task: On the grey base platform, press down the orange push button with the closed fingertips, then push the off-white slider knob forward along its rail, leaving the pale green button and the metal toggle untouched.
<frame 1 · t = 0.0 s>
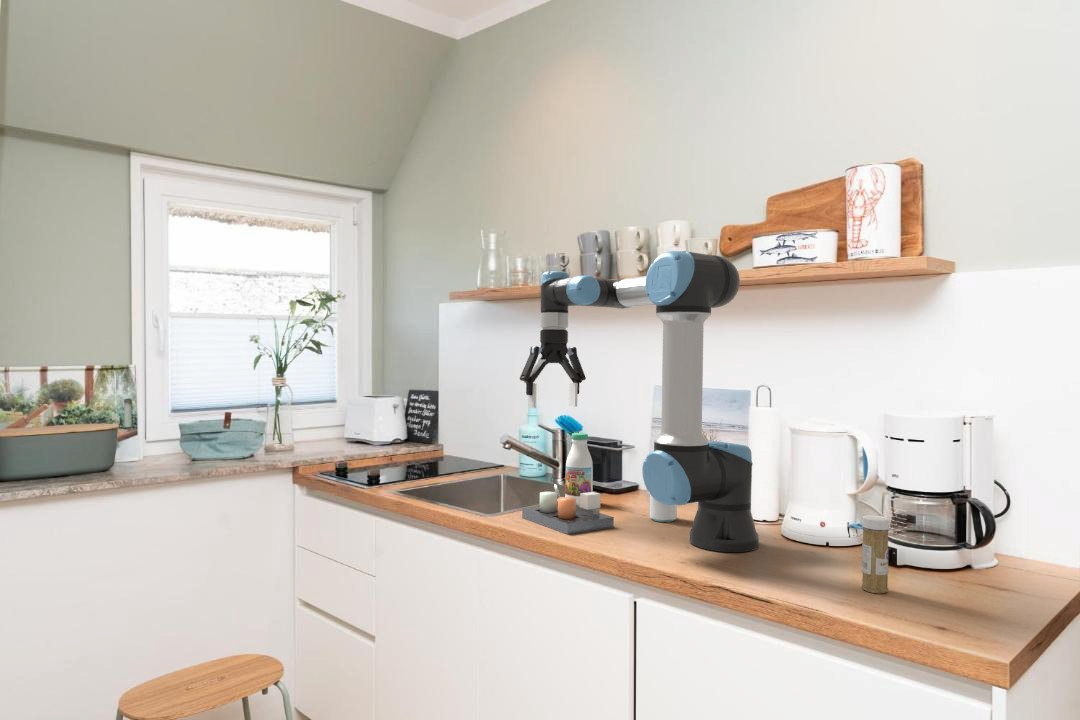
hand: (553, 407, 197), 28 cm above the worktop, tool pointing down, fingers open, 13 cm apart
button b: (548, 502, 185), point 5 cm above the worktop, slide at 0.0 cm
spice jar: (874, 591, 133), on the worktop
grey base platform: (566, 522, 183), on the worktop
can: (663, 520, 188), on the worktop
button a: (566, 507, 178), point 5 cm above the worktop, slide at 0.0 cm
milk bottle: (578, 504, 206), on the worktop
slider: (590, 500, 181), point 6 cm above the worktop, slide at 0.0 cm
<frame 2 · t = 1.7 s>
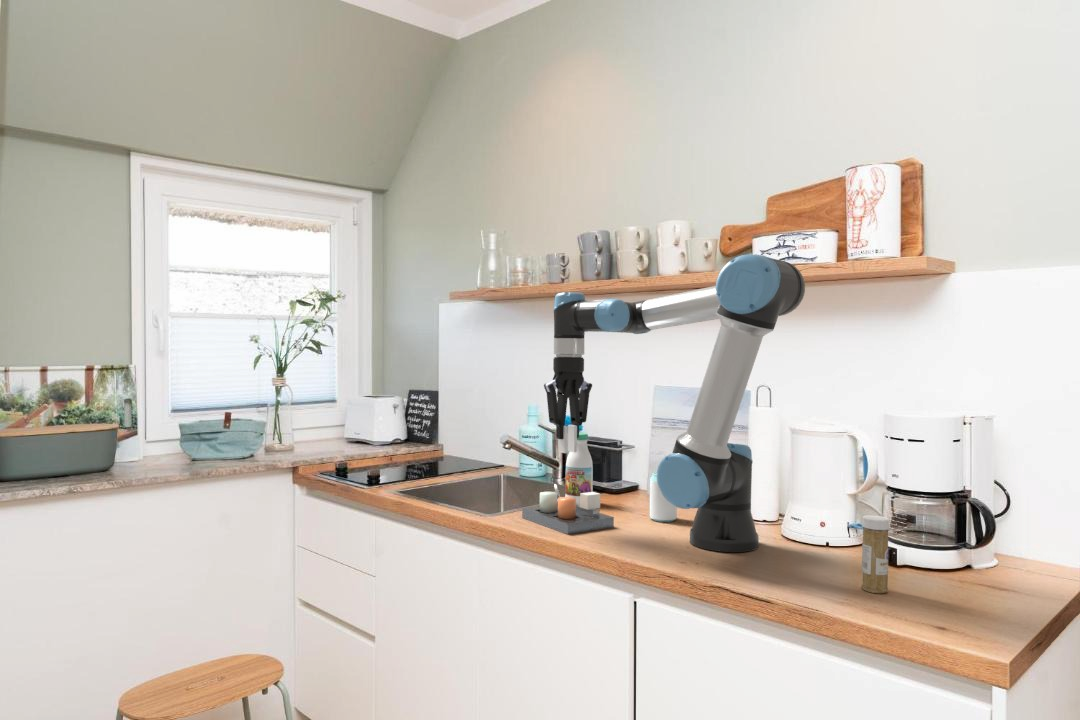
hand: (567, 451, 178), 18 cm above the worktop, tool pointing down, fingers open, 2 cm apart
nothing on the worktop moved.
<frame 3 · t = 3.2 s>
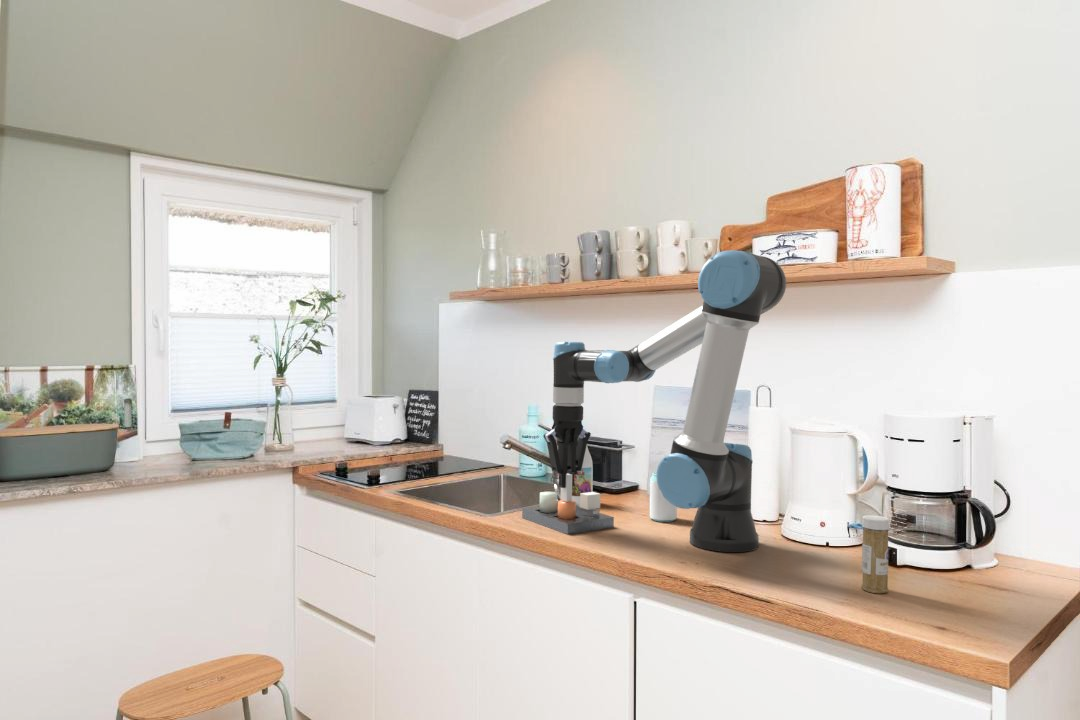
hand: (566, 500, 178), 7 cm above the worktop, tool pointing down, fingers closed
button a: (566, 510, 178), point 4 cm above the worktop, slide at -0.7 cm, touching gripper
everything else where it was.
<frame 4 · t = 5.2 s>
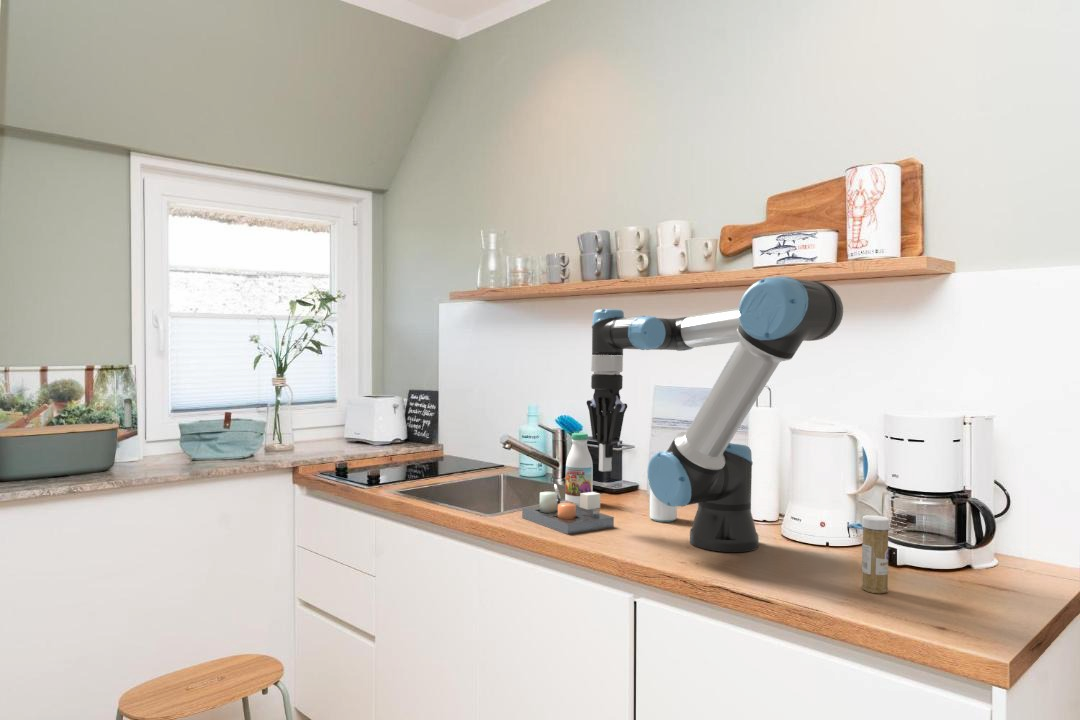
hand: (605, 470, 176), 14 cm above the worktop, tool pointing down, fingers closed
button a: (566, 513, 178), point 3 cm above the worktop, slide at -1.5 cm
everything else where it was.
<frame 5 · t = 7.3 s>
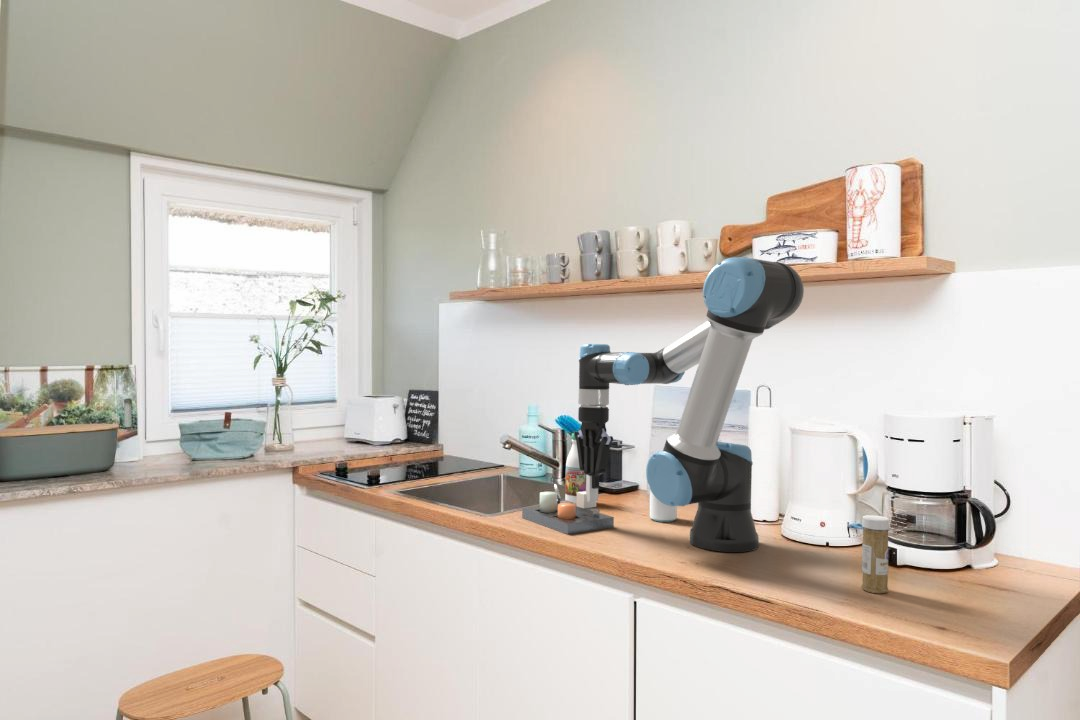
hand: (591, 500, 180), 6 cm above the worktop, tool pointing down, fingers closed
slider: (586, 499, 182), point 6 cm above the worktop, slide at 1.6 cm, touching gripper
everything else where it was.
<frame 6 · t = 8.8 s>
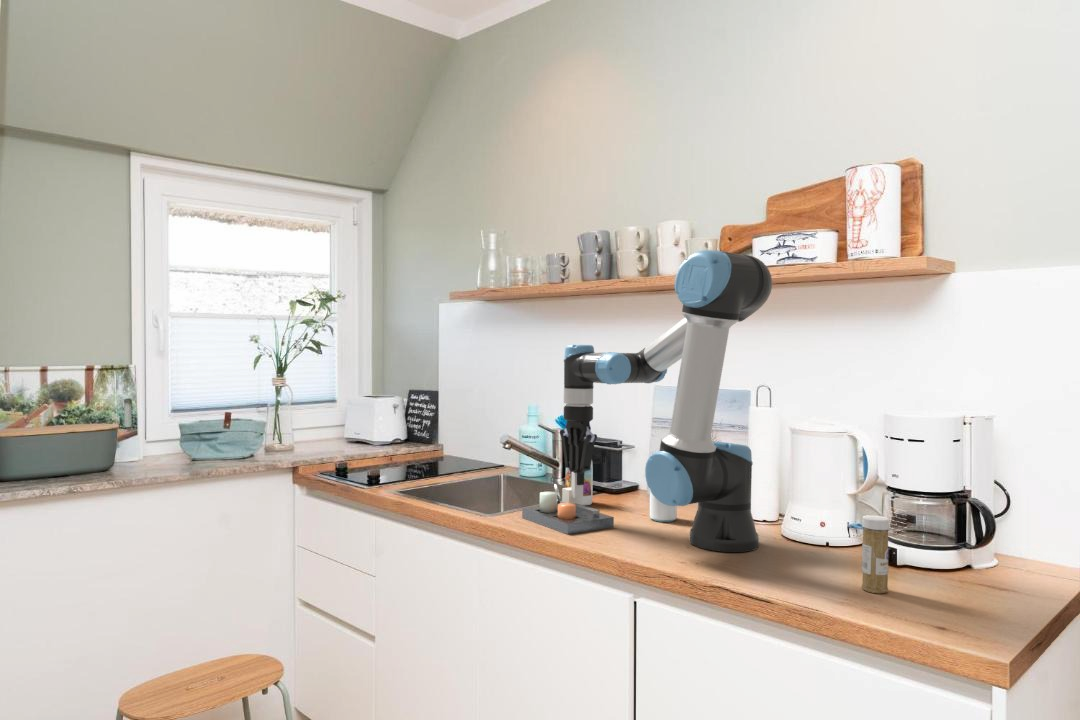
hand: (577, 497, 185), 6 cm above the worktop, tool pointing down, fingers closed
slider: (571, 495, 187), point 6 cm above the worktop, slide at 7.7 cm, touching gripper
everything else where it was.
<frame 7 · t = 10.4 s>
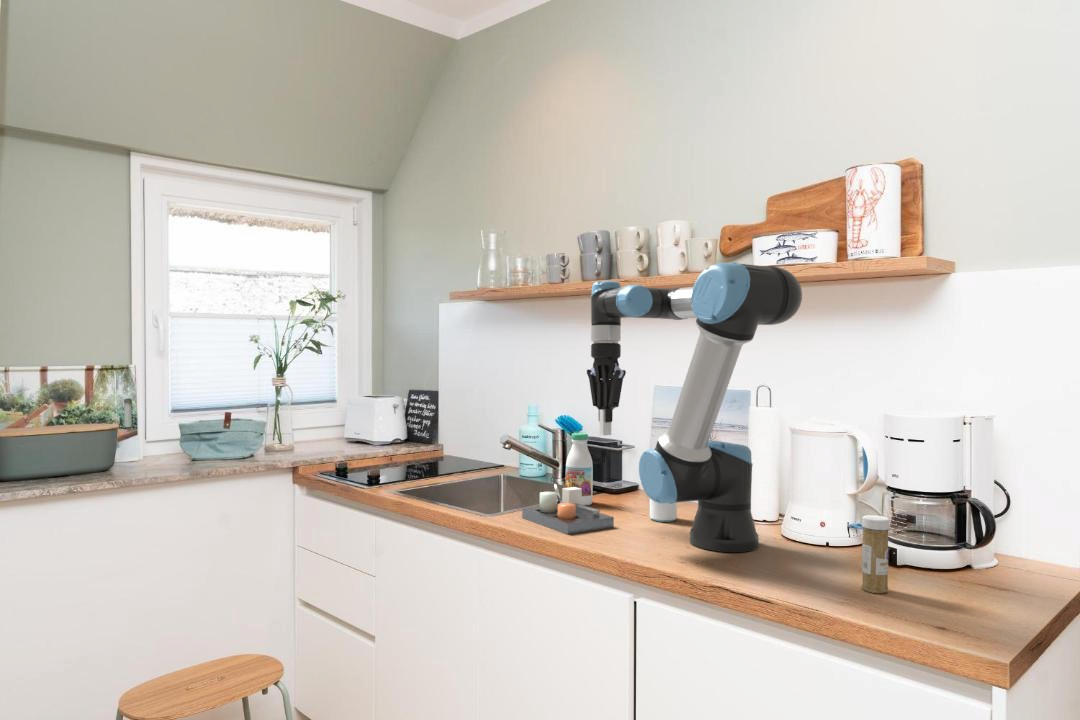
hand: (605, 434, 185), 22 cm above the worktop, tool pointing down, fingers closed
slider: (571, 495, 187), point 6 cm above the worktop, slide at 7.7 cm
everything else where it was.
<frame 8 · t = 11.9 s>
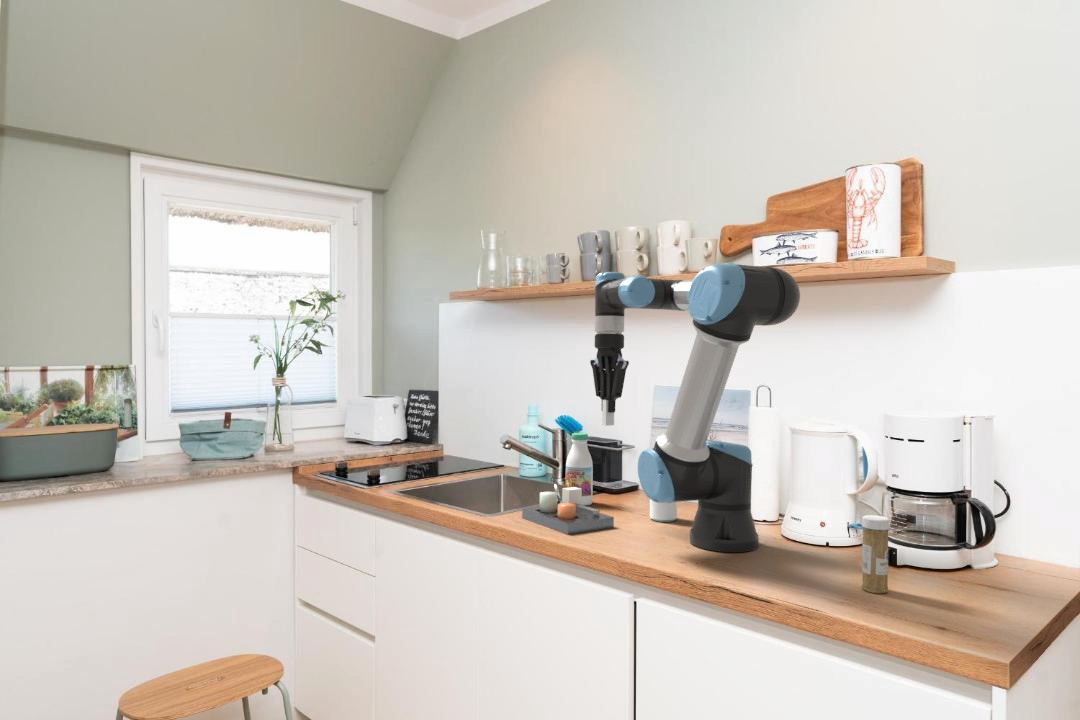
hand: (608, 425, 186), 24 cm above the worktop, tool pointing down, fingers closed
nothing on the worktop moved.
at the end: button a slide at -1.5 cm; slider slide at 7.7 cm; button b slide at 0.0 cm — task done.
